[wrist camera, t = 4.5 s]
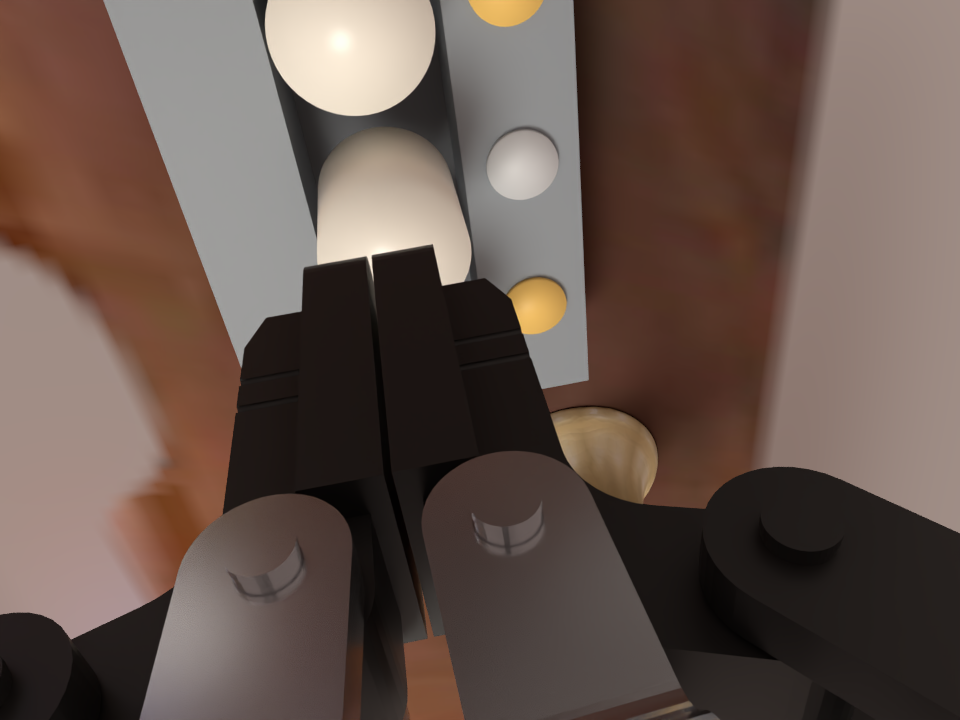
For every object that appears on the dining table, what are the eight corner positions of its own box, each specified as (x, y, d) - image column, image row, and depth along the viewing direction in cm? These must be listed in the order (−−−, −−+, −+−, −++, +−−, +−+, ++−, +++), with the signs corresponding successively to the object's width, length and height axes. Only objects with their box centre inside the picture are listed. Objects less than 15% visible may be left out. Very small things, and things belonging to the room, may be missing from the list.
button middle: (303, 139, 23) (299, 201, 20) (442, 115, 23) (461, 173, 20) (334, 260, 25) (336, 333, 22) (460, 238, 26) (479, 307, 22)
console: (95, -144, 22) (54, -124, 19) (531, -209, 22) (567, -201, 19) (274, 373, 33) (268, 443, 30) (563, 320, 33) (589, 383, 30)
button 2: (255, -76, 21) (243, -45, 18) (407, -100, 21) (421, -73, 18) (294, 77, 24) (289, 127, 20) (429, 55, 24) (446, 101, 21)
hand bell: (520, 393, 36) (627, 747, 23) (684, 418, 38) (863, 750, 25) (466, 522, 40) (530, 878, 27) (616, 537, 42) (739, 870, 30)
